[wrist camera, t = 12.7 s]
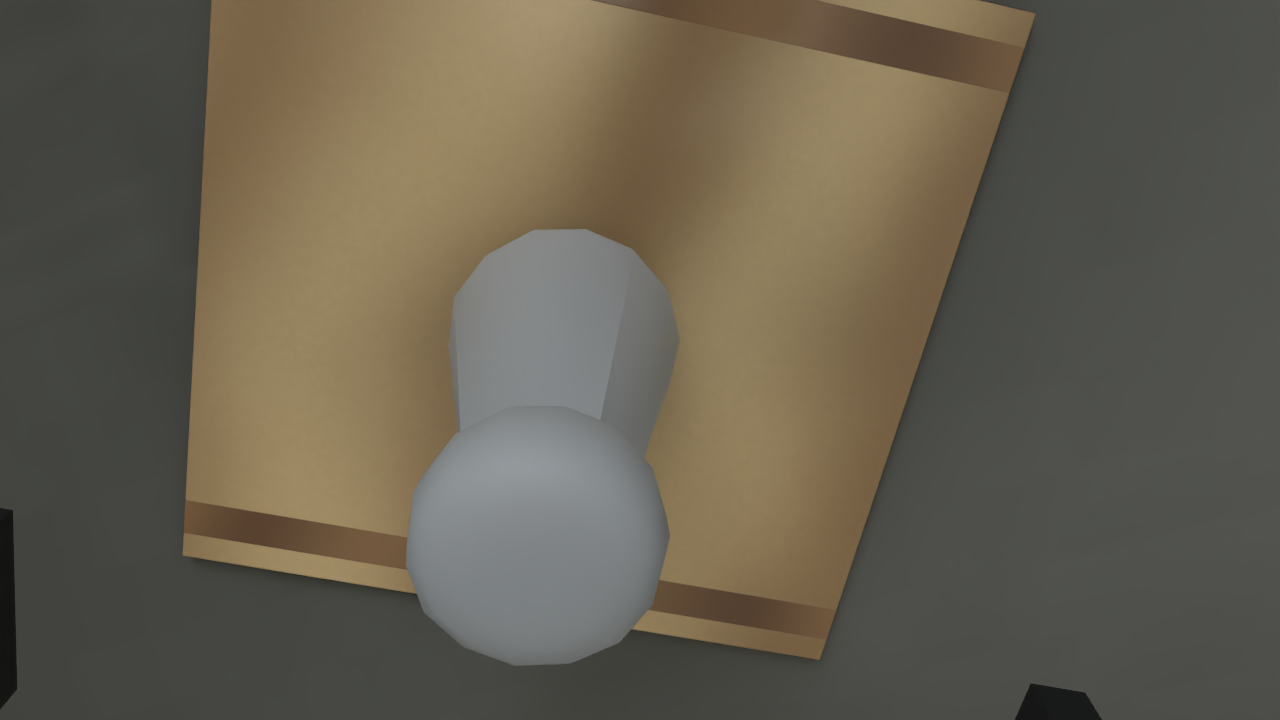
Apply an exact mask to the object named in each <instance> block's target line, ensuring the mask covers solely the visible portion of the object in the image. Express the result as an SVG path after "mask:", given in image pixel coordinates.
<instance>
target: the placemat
mask: <svg viewBox="0 0 1280 720" xmlns="http://www.w3.org/2000/svg"><path fill="white" fill-rule="evenodd" d="M1035 16H1036V14H1035V13H1032V12H1027V11H1023V10H1019V9H1014V8H1010V7H1006V6H1001V5H997V4H993V3H988V2H984V1H980V0H212V2H211V21H210V40H209V59H208V78H207V98H206V117H205V136H204V155H203V174H202V194H201V213H200V232H199V251H198V270H197V289H196V309H195V328H194V347H193V366H192V385H191V405H190V424H189V443H188V462H187V481H186V500H185V518H184V539H183V556H188V557H195V558H201V559H207V560H213V561H219V562H225V563H231V564H237V565H243V566H249V567H256V568H262V569H268V570H274V571H280V572H286V573H292V574H298V575H304V576H310V577H317V578H323V579H329V580H335V581H341V582H347V583H353V584H359V585H365V586H371V587H378V588H384V589H390V590H396V591H402V592H408V593H414V594H417V593H416V590H415V588H414V585H413V583H412V580H411V577H410V575H409V572H408V569H407V567H406V551H407V538H408V530H409V522H410V515H411V507H412V499H413V492H414V490H415V488H416V487H417V485H418V483H419V481H420V479H421V478H422V476H423V474H424V473H425V471H426V470H427V469H428V468H429V466H430V465H431V464H432V463H433V461H434V460H435V459H436V458H437V456H438V455H439V454H440V452H441V451H442V450H443V449H444V447H445V446H446V445H447V444H448V442H449V441H450V440H451V439H452V437H453V436H454V435H455V434H456V433H458V428H457V419H456V410H455V401H454V392H453V383H452V374H451V365H450V356H449V347H448V344H449V336H450V327H451V319H452V311H453V303H454V296H455V295H456V294H457V292H458V291H459V290H460V289H461V287H462V286H463V285H464V283H465V282H466V281H467V279H468V278H469V277H470V275H471V274H472V273H473V272H474V270H475V269H476V268H477V266H478V265H479V264H480V262H481V261H482V260H483V258H484V257H485V256H486V255H488V254H490V253H491V252H493V251H495V250H497V249H499V248H501V247H503V246H504V245H506V244H508V243H510V242H512V241H514V240H516V239H518V238H519V237H521V236H523V235H525V234H527V233H529V232H531V231H533V230H547V229H587V230H590V231H592V232H594V233H597V234H599V235H601V236H604V237H606V238H608V239H611V240H613V241H615V242H618V243H620V244H622V245H625V246H627V247H629V248H632V249H633V250H634V251H635V252H636V253H637V255H638V256H639V257H640V258H641V259H642V260H643V262H644V263H645V264H646V265H647V266H648V267H649V269H650V270H651V271H652V272H653V273H654V274H655V276H656V277H657V278H658V279H659V280H660V281H661V283H662V284H663V285H664V286H665V288H666V289H667V291H668V293H669V297H670V301H671V305H672V308H673V312H674V316H675V320H676V324H677V328H678V332H679V336H680V343H679V347H678V351H677V355H676V360H675V364H674V368H673V372H672V376H671V380H670V385H669V388H668V390H667V393H666V396H665V399H664V401H663V404H662V407H661V409H660V412H659V415H658V418H657V420H656V423H655V426H654V428H653V431H652V434H651V438H650V441H649V444H648V447H647V451H646V454H645V457H644V459H645V460H646V462H647V463H648V464H649V465H650V466H651V467H652V468H653V471H654V474H655V478H656V481H657V485H658V488H659V492H660V495H661V499H662V502H663V505H664V509H665V512H666V516H667V521H668V527H669V533H670V538H669V543H668V547H667V551H666V555H665V559H664V563H663V567H662V571H661V575H660V578H659V582H658V586H657V590H656V593H655V597H654V601H653V605H652V606H651V607H650V608H649V610H648V611H647V612H646V613H645V614H644V615H643V616H642V617H641V619H640V620H639V621H638V622H637V623H636V624H635V625H634V627H633V628H632V629H634V630H640V631H646V632H652V633H658V634H664V635H670V636H677V637H683V638H689V639H695V640H701V641H707V642H713V643H719V644H725V645H731V646H738V647H744V648H750V649H756V650H762V651H768V652H774V653H780V654H786V655H792V656H799V657H805V658H811V659H817V660H820V658H821V655H822V652H823V649H824V646H825V643H826V640H827V637H828V634H829V631H830V628H831V625H832V622H833V619H834V616H835V613H836V610H837V607H838V604H839V601H840V598H841V595H842V592H843V589H844V586H845V583H846V580H847V577H848V574H849V571H850V568H851V565H852V562H853V559H854V556H855V553H856V550H857V547H858V544H859V541H860V538H861V535H862V532H863V529H864V526H865V523H866V520H867V517H868V514H869V511H870V508H871V505H872V502H873V499H874V496H875V493H876V490H877V487H878V484H879V482H880V479H881V476H882V473H883V470H884V467H885V464H886V461H887V458H888V455H889V452H890V449H891V446H892V443H893V440H894V437H895V434H896V431H897V428H898V425H899V422H900V419H901V416H902V413H903V410H904V407H905V404H906V401H907V398H908V395H909V392H910V389H911V386H912V383H913V380H914V377H915V374H916V371H917V368H918V365H919V362H920V359H921V356H922V353H923V350H924V347H925V344H926V341H927V338H928V335H929V332H930V329H931V326H932V323H933V320H934V317H935V314H936V311H937V308H938V305H939V302H940V299H941V296H942V293H943V290H944V288H945V285H946V282H947V279H948V276H949V273H950V270H951V267H952V264H953V261H954V258H955V255H956V252H957V249H958V246H959V243H960V240H961V237H962V234H963V231H964V228H965V225H966V222H967V219H968V216H969V213H970V210H971V207H972V204H973V201H974V198H975V195H976V192H977V189H978V186H979V183H980V180H981V177H982V174H983V171H984V168H985V165H986V162H987V159H988V156H989V153H990V150H991V147H992V144H993V141H994V138H995V135H996V132H997V129H998V126H999V123H1000V120H1001V117H1002V114H1003V111H1004V108H1005V105H1006V102H1007V99H1008V96H1009V93H1010V91H1011V88H1012V85H1013V82H1014V79H1015V76H1016V73H1017V70H1018V67H1019V64H1020V61H1021V58H1022V55H1023V52H1024V49H1025V46H1026V43H1027V40H1028V37H1029V34H1030V31H1031V28H1032V25H1033V22H1034V19H1035Z"/></svg>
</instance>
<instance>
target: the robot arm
mask: <svg viewBox="0 0 1280 720" xmlns="http://www.w3.org/2000/svg"><path fill="white" fill-rule="evenodd" d="M16 690H17V665H16V624H15V583H14V542H13V510H8V509H2V508H0V709H1V708H2V706H3V705H4V704H5V703H6V702H7V700H8V699H9V698H10V697H11V696H12V695H13V693H14V692H15V691H16ZM1015 720H1102V719H1101V718H1100V716H1099V714H1098V713H1097V711H1096V710H1095V708H1094V706H1093V705H1092V703H1091V702H1090V700H1089V698H1088V697H1087V695H1086V693H1084V692H1078V691H1072V690H1066V689H1060V688H1054V687H1048V686H1042V685H1037V684H1030V687H1029V689H1028V691H1027V693H1026V696H1025V698H1024V700H1023V703H1022V705H1021V707H1020V709H1019V712H1018V714H1017V716H1016V719H1015Z"/></svg>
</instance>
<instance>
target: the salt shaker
mask: <svg viewBox="0 0 1280 720" xmlns="http://www.w3.org/2000/svg"><path fill="white" fill-rule="evenodd" d="M679 343H680V336H679V332H678V328H677V324H676V320H675V316H674V312H673V308H672V305H671V301H670V297H669V293H668V291H667V289H666V288H665V286H664V285H663V284H662V283H661V281H660V280H659V279H658V278H657V277H656V276H655V274H654V273H653V272H652V271H651V270H650V269H649V267H648V266H647V265H646V264H645V263H644V262H643V260H642V259H641V258H640V257H639V256H638V255H637V253H636V252H635V251H634V250H633V249H632V248H629V247H627V246H625V245H622V244H620V243H618V242H615V241H613V240H611V239H608V238H606V237H604V236H601V235H599V234H597V233H594V232H592V231H590V230H587V229H547V230H533V231H531V232H529V233H527V234H525V235H523V236H521V237H519V238H518V239H516V240H514V241H512V242H510V243H508V244H506V245H504V246H503V247H501V248H499V249H497V250H495V251H493V252H491V253H490V254H488V255H486V256H485V257H484V258H483V260H482V261H481V262H480V264H479V265H478V266H477V268H476V269H475V270H474V272H473V273H472V274H471V275H470V277H469V278H468V279H467V281H466V282H465V283H464V285H463V286H462V287H461V289H460V290H459V291H458V292H457V294H456V295H455V296H454V303H453V311H452V319H451V327H450V336H449V344H448V347H449V356H450V365H451V374H452V383H453V392H454V401H455V410H456V419H457V428H458V433H456V434H455V435H454V436H453V437H452V439H451V440H450V441H449V442H448V444H447V445H446V446H445V447H444V449H443V450H442V451H441V452H440V454H439V455H438V456H437V458H436V459H435V460H434V461H433V463H432V464H431V465H430V466H429V468H428V469H427V470H426V471H425V473H424V474H423V476H422V478H421V479H420V481H419V483H418V485H417V487H416V488H415V490H414V492H413V499H412V507H411V515H410V522H409V530H408V538H407V551H406V567H407V569H408V572H409V575H410V577H411V580H412V583H413V585H414V588H415V590H416V593H417V596H418V598H419V601H420V604H421V606H422V609H423V612H424V613H425V614H427V615H428V616H429V617H430V618H431V619H432V620H433V621H434V622H436V623H437V624H438V625H439V626H440V627H441V628H442V629H443V630H445V631H446V632H447V633H448V634H449V635H450V636H451V637H452V638H454V639H455V640H456V641H457V642H458V643H459V644H460V645H461V646H463V647H464V648H467V649H470V650H473V651H475V652H478V653H481V654H484V655H486V656H489V657H492V658H495V659H497V660H500V661H503V662H506V663H508V664H511V665H514V666H522V665H548V664H570V663H572V662H575V661H577V660H580V659H582V658H584V657H587V656H589V655H591V654H594V653H596V652H599V651H601V650H603V649H606V648H608V647H610V646H613V645H615V644H618V643H619V642H620V641H621V640H622V639H623V638H624V637H625V636H626V634H627V633H628V632H629V631H630V630H631V629H632V628H633V627H634V625H635V624H636V623H637V622H638V621H639V620H640V619H641V617H642V616H643V615H644V614H645V613H646V612H647V611H648V610H649V608H650V607H651V606H652V605H653V601H654V597H655V593H656V590H657V586H658V582H659V578H660V575H661V571H662V567H663V563H664V559H665V555H666V551H667V547H668V543H669V538H670V533H669V527H668V521H667V516H666V512H665V509H664V505H663V502H662V499H661V495H660V492H659V488H658V485H657V481H656V478H655V474H654V471H653V468H652V467H651V466H650V465H649V464H648V463H647V462H646V460H645V459H644V457H645V454H646V451H647V447H648V444H649V441H650V438H651V434H652V431H653V428H654V426H655V423H656V420H657V418H658V415H659V412H660V409H661V407H662V404H663V401H664V399H665V396H666V393H667V390H668V388H669V385H670V380H671V376H672V372H673V368H674V364H675V360H676V355H677V351H678V347H679Z"/></svg>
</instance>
